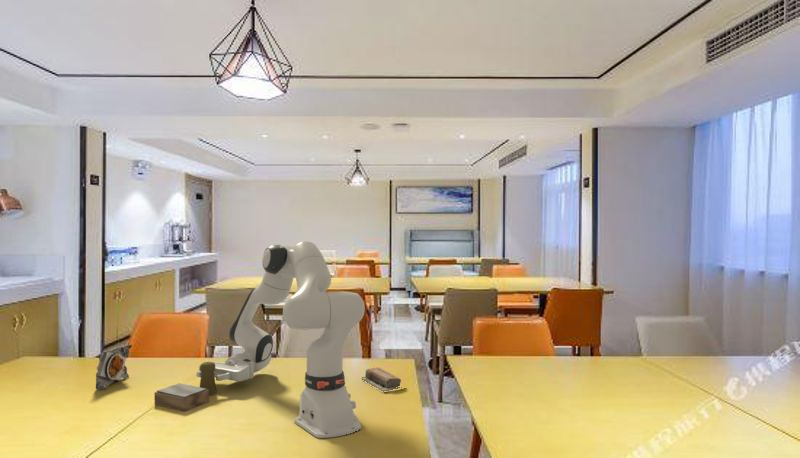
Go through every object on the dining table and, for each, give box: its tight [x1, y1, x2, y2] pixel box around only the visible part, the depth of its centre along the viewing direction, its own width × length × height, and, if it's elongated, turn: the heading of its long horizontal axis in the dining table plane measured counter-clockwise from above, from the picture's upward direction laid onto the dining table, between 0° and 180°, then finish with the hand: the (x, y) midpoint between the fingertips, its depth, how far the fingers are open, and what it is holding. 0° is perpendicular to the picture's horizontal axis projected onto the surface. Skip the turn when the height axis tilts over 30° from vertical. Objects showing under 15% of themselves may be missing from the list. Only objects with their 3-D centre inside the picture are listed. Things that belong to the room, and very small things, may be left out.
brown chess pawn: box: [199, 361, 217, 397], centre depth 178 cm, size 6×6×11 cm
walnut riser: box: [154, 382, 210, 412], centre depth 168 cm, size 10×14×4 cm
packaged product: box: [361, 367, 402, 392], centre depth 189 cm, size 18×5×10 cm
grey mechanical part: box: [95, 344, 133, 391], centre depth 188 cm, size 15×4×13 cm, turn 175°
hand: (207, 376), depth 178 cm, fingers open, 8 cm apart
